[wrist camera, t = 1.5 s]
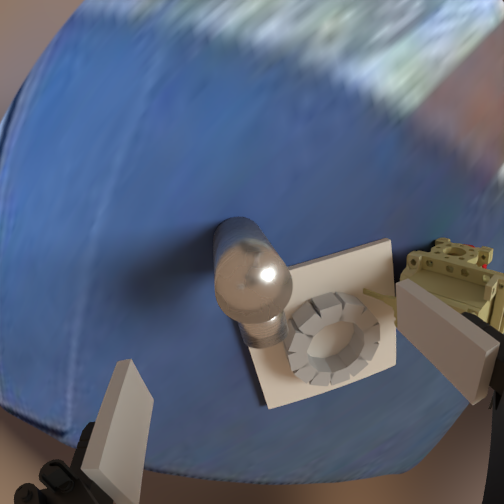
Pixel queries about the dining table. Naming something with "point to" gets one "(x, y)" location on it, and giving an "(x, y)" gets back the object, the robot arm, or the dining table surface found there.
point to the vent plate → (332, 326)
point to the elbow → (251, 282)
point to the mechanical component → (456, 280)
